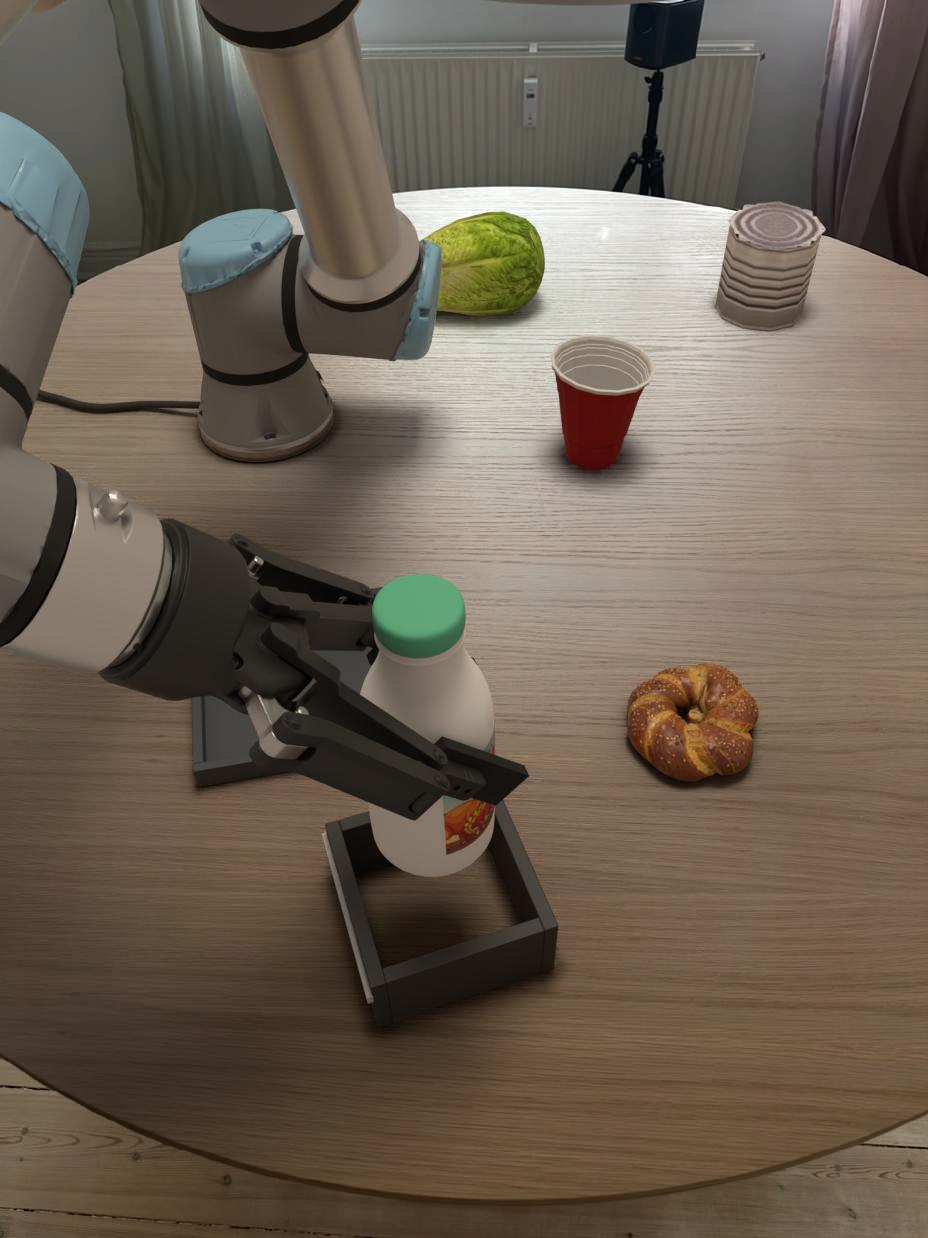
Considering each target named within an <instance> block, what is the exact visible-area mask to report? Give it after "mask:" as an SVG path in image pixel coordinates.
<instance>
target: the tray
mask: <svg viewBox="0 0 928 1238" xmlns="http://www.w3.org/2000/svg"><path fill="white" fill-rule="evenodd" d="M383 587H384V586H377V587H372V588H370V589H371V590H372V592H373V593H374V598H373V599H372V600H371V601H370V603H371V604H372V606H373V602H374V599H375V597H376V595H377V594H378V592H379V591H380V590H381V589H382V588H383ZM344 598H345V597H340V598H339V599H338V600H337V602H336V603H335V604H340V603H341V602H342V600H343V599H344ZM372 649H373V648H371V647H367V648H366V649H365V650H364V651H324V650H312V651H313V652H315V653H316V654H318V655H319V656H320V657H322V658H323V659H325V660H326V661H328V662H329V663H331V664H332V665H334V666H335V667H337V668H338V669H339V670H340V673H341V677H340V680H341V682H343V683H344V684H345V685H347V686H348V687H350V688H351V689H353V690H354V691H356V692H357V693H359V694H360V692H361V689H362V686H363V683H364V680H365V678H366V676H367V674H368V672H369V670H370V668H371V667H372V665H370V664H369V661H368V659H367V656H366V655H367V654H368V653H369V652H370V651H371V650H372ZM315 682H316V680H315V679H312V681H311V682H310V684H309V685H308V686H307V687H306V688H305V689H304V690H303V691H302V692H301V693H300V694H299V695H298V696H297V697H296V698H295V699H293V700H291V701H297V700H299V699H300V698H301V697H302V696H303V695H304V694H305V693H306V692H307V691H308V690H309V688H310V687H311V686H312V685H313V684H314V683H315ZM191 722H192V723H191V726H192V727H191V729H192V731H191V733H192V737H191V738H192V773H193V776H194V778H195V782H196V784H197V787H206V786H211V785H218V784H223V783H229V782H235V781H240V780H246V779H252V778H257V777H263V776H269V775H274V774H280V773H286V772H287V771H282V770H271V769H263V768H260V767H259V766H257V765H256V764H255V763H254V762H253V761H252V760H251V758H250V756H249V749H250V748H251V747H252V746H253V745H254V744H255V743H256V742H257V741H258V740H259V737H258V734H257V732H256V730H255V727H254V725H253V723H252V720H251V718H250V716H249V715H246V714H243V713H240V712H238V711H236V710H235V709H233V708H232V707H231V706H229V705H228V704H226V703H225V702H223V701H222V700H220V699H218V698H216V697H213V696H201V697H194V698H191Z"/></svg>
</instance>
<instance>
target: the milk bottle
mask: <svg viewBox="0 0 928 1238" xmlns="http://www.w3.org/2000/svg"><path fill="white" fill-rule="evenodd" d="M382 587H383V588H382V589H381V590H380V591H379V592H378V594H377V595H376V597H375V599H374V602H373V606H372V621H373V627H374V637H375V642H376V644H377V646H378V648H379V653H378V656H377V658H376V660H375V662H374V663H373V665H372V667H371V668H370V670H369V672H368V674H367V676H366V678H365V680H364V683H363V686H362V689H361V692H360V695H362V696H363V697H365V698H366V699H368V700H369V701H371V702H372V703H374V704H375V705H377V706H378V707H380V708H381V709H382V710H384V711H385V712H387V713H388V714H390V715H391V716H393V717H394V718H396V719H397V720H399V721H400V722H402V723H403V724H405V725H406V726H408V727H409V728H411V729H412V730H414V731H415V732H417V733H418V734H420V735H421V736H423V737H424V738H426V739H427V740H429V741H430V742H432V743H433V744H434V743H436V742H437V741H438V740H439V739H440V738H441V737H442V736H443V737H446V738H449V739H451V740H454V741H457V742H460V743H463V744H466V745H468V746H471V747H474V748H477V749H480V750H483V751H485V752H488V753H491V754H494V755H496V721H495V709H494V703H493V697H492V693H491V691H490V687H489V685H488V682H487V679H486V678H485V675H484V674H483V671H482V670H481V669H480V667H479V666H477V665H478V663H477V662H476V663H477V664H476V663H475V662H474V660H473V659H472V658H473V657H472V656H471V655H470V654H469V652H468V651H467V650H466V648H465V646H464V642H465V639H466V634H467V628H466V620H467V619H466V618H467V617H466V616H467V615H466V604H465V603H466V602H465V600H464V598H463V595H462V593H461V591H460V590H459V589H458V588H457V586H455V584H453V583H452V582H450V581H449V580H447V579H445V578H442V577H440V576H437V575H434V574H424V573H418V574H417V573H415V574H409V575H404V576H401V577H398V578H396V579H395V578H394V579H393V580H391V581H389V582H388V583H386V584H385V585H384V586H382ZM471 657H472V658H471ZM367 806H368V811H369V813H370V820H371V825H372V830H373V835H374V839H375V842H376V844H377V846H378V848H379V850H380V851H381V853H382V854H383V855H384V856H385V857H386V858H387V860H389V861H390V862H391V863H390V864H392V865H393V866H394V867H397V868H398V869H400V870H401V871H402V872H406V873H409V874H411V875H414V876H419V877H425V878H439V877H445V876H450V875H452V874H455V873H458V872H460V871H462V870H464V869H465V868H467V867H469V866H471V865H472V864H473V863H474V862H475V861H477V859H478V858H480V857H481V856H482V854H483V853H484V852H485V850H486V849H487V848H488V847H489V845H488V844H489V842H490V840H491V837H492V834H493V829H494V817H495V805H492V804H489V803H486V802H482V801H479V800H476V799H472V798H470V799H469V800H465V801H462V800H458V799H456V798H451V797H448V796H445V795H443V796H442V797H441V798H440V799H439V800H438V801H437V802H436V803H435V804H433V805H432V806H431V807H430V808H429V809H428V810H427V811H426V812H425V813H424V814H423V815H422V816H420V817H419V818H418V819H417V820H415V821H414V820H410V819H407V818H405V817H403V816H400V815H398V814H395V813H393V812H391V811H388V810H386V809H383V808H381V807H378V806H376V805H374V804H371V803H369V802H367Z"/></svg>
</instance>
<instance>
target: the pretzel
mask: <svg viewBox="0 0 928 1238" xmlns="http://www.w3.org/2000/svg"><path fill="white" fill-rule="evenodd" d="M626 710H627V717H628V718H627V719H628V720H627V731H626V733H627V737H628V739H629V741H630V743H631V744H632V746H633V748H634V749H635V750H636V752H638V754H640V756H641V757H642V758H644V760H646V761H647V762H648V763H650V764H651V765H652V766H653V767H654V769H656V770H657V771H659V772H660V773H663V774H664V775H666V776H668V777H670V778H673V779H676V780H679V781H683V782H696V781H700V780H703V779H705V778H708V777H710V776H711V777H712V776H714V775H715V773H716V774H718V775H720V776H723V777H725V776H726V777H727V776H733V775H736V774H737V773H739V772H740V773H741V771H743V770H744V769H746V767H747V766H748V765H749V764H750V763H751V760H752V758H753V756H754V739H753V738H752V736H751V733H749V731H751V730H752V729H753V728H754V727H755V726H756V724H757V722H758V720H759V715H760V713H759V707H758V704H757V702H756V699H755V698H754V697H752V694H751V693H749V692H748V691H747V690H746V689H745V688H744V687H743V685H742V683H741V681H740V680H739V678H738V676H736V675H735V673H733V672H732V671H731V670H729V669H728V668H727V667H725V666H722V665H719V664H716V663H698V664H695V665H692V666H688V667H686V668H684V667H680V666H679V667H678V666H677V667H675V666H673V667H668V668H665V669H663V670H660V671H658V673H656V674H655V676H653V678H650V679H648V680H646V681H645V680H644V681H643V682H642V683H640V684H639V685H637V686H636V687H635V688H634V690H632V691H631V692H630V695H629V698H628V700H627V707H626ZM679 714H686V715H685V717H684V718H683V717H682V716H680V715H679Z"/></svg>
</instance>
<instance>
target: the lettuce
mask: <svg viewBox="0 0 928 1238" xmlns="http://www.w3.org/2000/svg"><path fill="white" fill-rule="evenodd" d="M423 239H424V240H428V241H429V242H433V243H437V244H438V245H439V246H440V248H441V252H442V264H441V278H440V288H439V297H438V305H437V312H448V313H455V314H460V315H465V316H470V317H491V316H492V317H493V316H494V317H495V316H496V317H497V316H506V315H510V314H514V313H518V312H519V311H521V310H522V309H523V308H524V307H525V306H526V305H527V304H528V303H529V302H530V301H531V300H532V299H533V298H535V296H536V294H537V293H538V291H539V289H540V286H541V284H542V282H543V278H544V275H545V268H546V258H545V257H546V256H545V249H544V245H543V242H542V238H541V235H540V233H539V232H538V230H537V228H536V227H535V226H534V224H532V223H531V222H530V221H529V220H528V219H527V218H526V217H523V216H519V215H517V214H514V213H511V212H507V211H504V210H503V211H487V212H482V213H478V214H474V215H470V216H467V217H466V216H465V217H461V218H458V219H456V220H455V221H452V222H450V223H448V224H447V225H446V224H445V225H444V226H442V227H441V228H438V229H437V230H435V231H433V232H432V233H430V234H429V235H426V236H425V237H424V238H421V239H420V240H419V241H421V240H423Z"/></svg>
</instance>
